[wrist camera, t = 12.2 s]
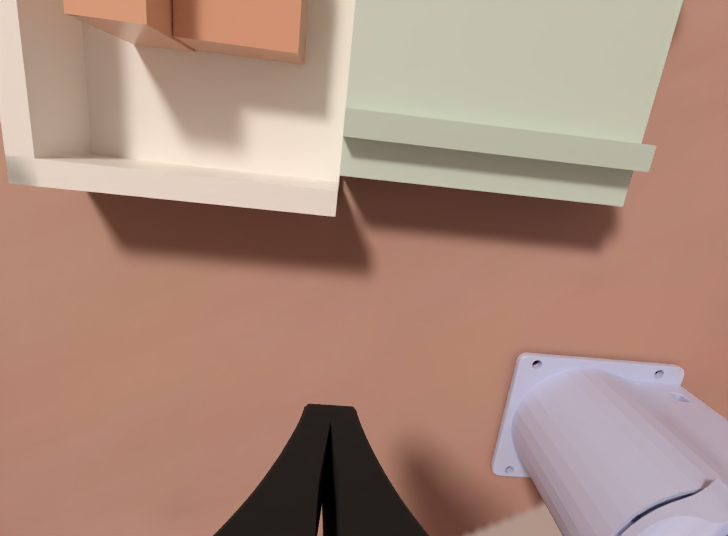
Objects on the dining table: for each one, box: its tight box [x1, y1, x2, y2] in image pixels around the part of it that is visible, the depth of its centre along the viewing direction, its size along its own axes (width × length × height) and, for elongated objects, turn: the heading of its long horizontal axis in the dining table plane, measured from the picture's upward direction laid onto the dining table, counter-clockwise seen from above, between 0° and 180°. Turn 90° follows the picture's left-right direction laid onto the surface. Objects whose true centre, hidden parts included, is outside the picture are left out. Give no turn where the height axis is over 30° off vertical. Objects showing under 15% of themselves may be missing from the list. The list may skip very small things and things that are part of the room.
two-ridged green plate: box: [339, 0, 683, 207], centre depth 16 cm, size 12×13×4 cm
